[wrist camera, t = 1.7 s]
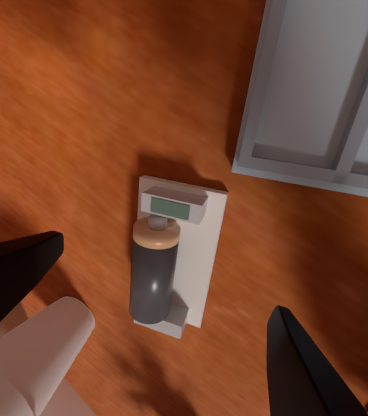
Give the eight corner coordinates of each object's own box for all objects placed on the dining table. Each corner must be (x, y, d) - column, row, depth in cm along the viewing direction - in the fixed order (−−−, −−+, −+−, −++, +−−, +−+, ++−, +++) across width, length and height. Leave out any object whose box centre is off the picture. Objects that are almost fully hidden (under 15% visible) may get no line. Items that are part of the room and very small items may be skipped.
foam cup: (71, 346, 34) (-27, 461, 22) (36, 296, 33) (-89, 390, 21) (117, 336, 30) (29, 468, 18) (80, 279, 29) (-42, 383, 17)
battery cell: (177, 311, 23) (143, 331, 20) (154, 288, 25) (121, 303, 23) (191, 222, 19) (151, 233, 17) (162, 206, 22) (124, 213, 19)
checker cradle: (201, 320, 25) (193, 349, 22) (136, 298, 27) (120, 321, 24) (228, 191, 20) (223, 204, 17) (144, 175, 22) (124, 183, 18)
